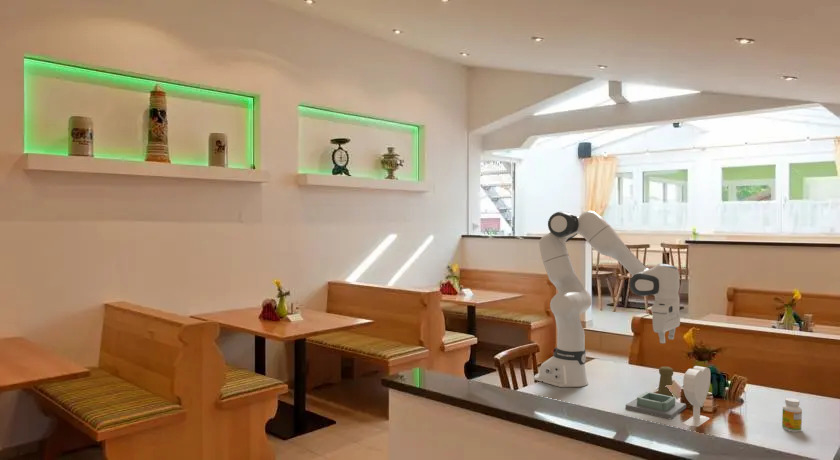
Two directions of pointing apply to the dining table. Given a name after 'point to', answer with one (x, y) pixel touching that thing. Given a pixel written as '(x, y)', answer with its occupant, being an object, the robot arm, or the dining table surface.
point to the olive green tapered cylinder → (665, 380)
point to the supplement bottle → (792, 415)
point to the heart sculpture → (696, 392)
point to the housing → (656, 405)
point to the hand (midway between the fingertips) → (667, 341)
